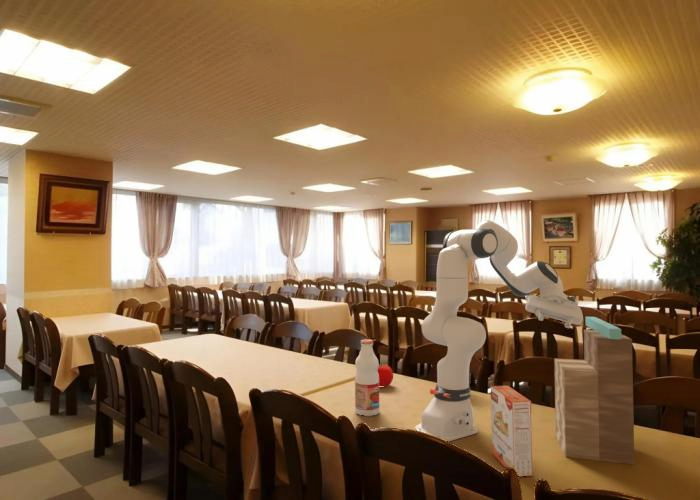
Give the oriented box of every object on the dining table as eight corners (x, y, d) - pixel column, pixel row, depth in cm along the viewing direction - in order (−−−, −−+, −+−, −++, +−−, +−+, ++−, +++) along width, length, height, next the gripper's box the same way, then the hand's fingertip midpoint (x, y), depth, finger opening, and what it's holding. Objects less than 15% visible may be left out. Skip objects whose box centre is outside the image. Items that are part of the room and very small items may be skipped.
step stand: (555, 436, 140) (553, 328, 141) (616, 442, 135) (614, 330, 136) (565, 456, 126) (563, 336, 126) (634, 464, 121) (631, 339, 122)
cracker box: (490, 454, 128) (489, 385, 128) (509, 453, 128) (508, 384, 129) (512, 478, 114) (511, 400, 114) (533, 477, 114) (532, 400, 115)
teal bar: (585, 325, 147) (585, 316, 147) (595, 325, 146) (595, 316, 146) (609, 338, 122) (609, 328, 122) (621, 339, 121) (621, 329, 121)
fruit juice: (358, 407, 169) (357, 337, 169) (381, 409, 167) (380, 338, 167) (352, 415, 160) (352, 342, 160) (377, 417, 158) (376, 343, 158)
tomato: (363, 385, 197) (363, 363, 197) (380, 380, 205) (379, 359, 205) (382, 391, 188) (381, 368, 189) (398, 386, 196) (398, 364, 197)
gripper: (527, 287, 168) (528, 308, 157) (582, 301, 163) (586, 324, 152) (523, 299, 171) (522, 320, 160) (576, 314, 166) (580, 337, 155)
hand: (554, 322), depth 156 cm, fingers open, 8 cm apart
